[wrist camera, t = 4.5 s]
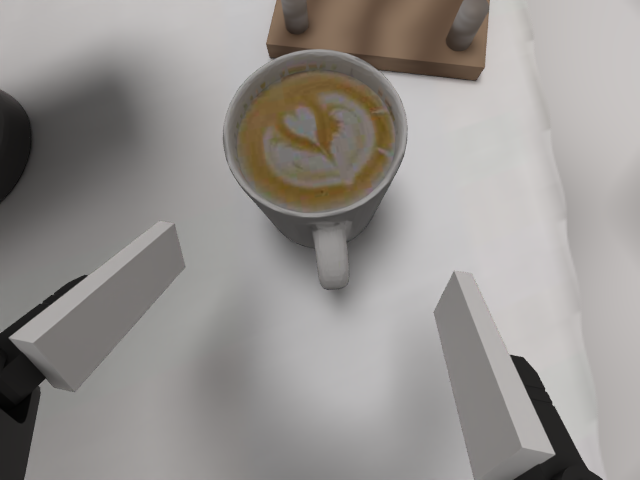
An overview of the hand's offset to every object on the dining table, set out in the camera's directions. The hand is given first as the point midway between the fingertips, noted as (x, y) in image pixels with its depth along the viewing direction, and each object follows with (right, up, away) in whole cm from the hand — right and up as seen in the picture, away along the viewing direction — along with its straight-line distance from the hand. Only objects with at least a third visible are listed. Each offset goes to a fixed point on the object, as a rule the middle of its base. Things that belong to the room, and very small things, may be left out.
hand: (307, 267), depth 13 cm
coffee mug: (+1, +4, +11) cm, 12 cm away
